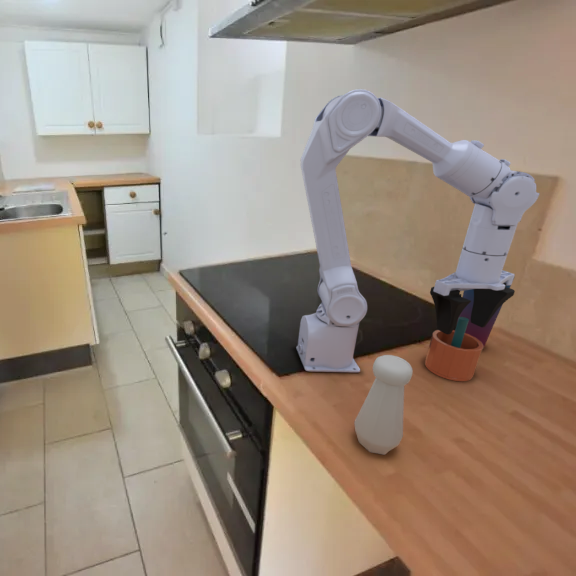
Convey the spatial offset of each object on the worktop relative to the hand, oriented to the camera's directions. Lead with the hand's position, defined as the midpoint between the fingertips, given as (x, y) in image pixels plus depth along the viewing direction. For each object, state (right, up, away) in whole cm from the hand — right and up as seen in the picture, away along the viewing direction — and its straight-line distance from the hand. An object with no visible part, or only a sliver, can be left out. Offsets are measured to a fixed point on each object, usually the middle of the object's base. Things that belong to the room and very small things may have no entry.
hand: (460, 328), depth 64 cm
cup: (+9, -4, +11) cm, 15 cm away
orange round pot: (0, -8, +3) cm, 8 cm away
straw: (0, -7, +3) cm, 8 cm away
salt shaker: (-21, -14, -13) cm, 28 cm away
